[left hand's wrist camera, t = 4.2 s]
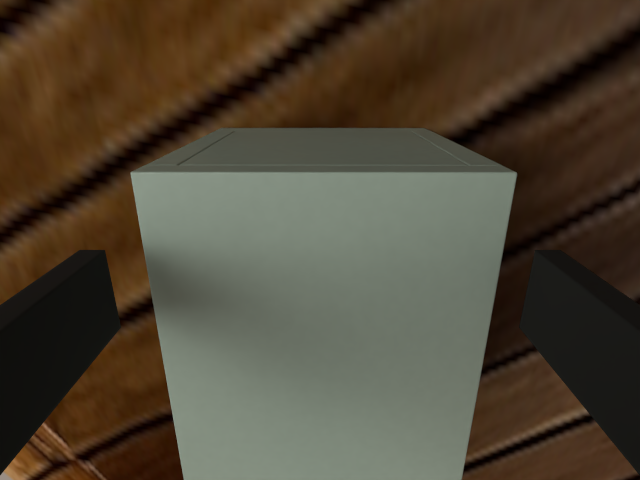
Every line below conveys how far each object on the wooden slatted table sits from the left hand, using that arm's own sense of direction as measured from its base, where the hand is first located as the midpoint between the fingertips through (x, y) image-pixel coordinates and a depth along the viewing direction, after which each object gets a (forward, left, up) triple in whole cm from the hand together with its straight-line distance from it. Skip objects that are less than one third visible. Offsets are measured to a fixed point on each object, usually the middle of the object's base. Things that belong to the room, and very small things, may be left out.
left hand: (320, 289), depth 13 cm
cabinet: (+3, +5, -13) cm, 14 cm away
